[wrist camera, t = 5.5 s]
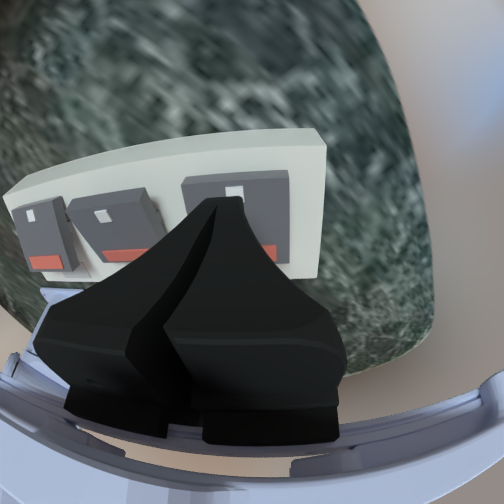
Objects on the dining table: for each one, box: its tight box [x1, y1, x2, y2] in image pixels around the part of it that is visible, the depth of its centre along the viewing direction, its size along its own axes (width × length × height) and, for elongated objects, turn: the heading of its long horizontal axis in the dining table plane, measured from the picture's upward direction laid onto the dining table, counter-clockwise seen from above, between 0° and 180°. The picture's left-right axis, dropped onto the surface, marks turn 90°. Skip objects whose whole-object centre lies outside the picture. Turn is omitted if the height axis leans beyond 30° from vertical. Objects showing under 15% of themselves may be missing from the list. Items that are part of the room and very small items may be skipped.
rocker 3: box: [181, 170, 290, 264], centre depth 14 cm, size 5×5×1 cm
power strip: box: [3, 128, 326, 282], centre depth 17 cm, size 9×23×4 cm, turn 94°
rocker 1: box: [11, 196, 80, 272], centre depth 15 cm, size 5×5×1 cm
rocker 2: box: [65, 187, 167, 263], centre depth 15 cm, size 5×5×1 cm
